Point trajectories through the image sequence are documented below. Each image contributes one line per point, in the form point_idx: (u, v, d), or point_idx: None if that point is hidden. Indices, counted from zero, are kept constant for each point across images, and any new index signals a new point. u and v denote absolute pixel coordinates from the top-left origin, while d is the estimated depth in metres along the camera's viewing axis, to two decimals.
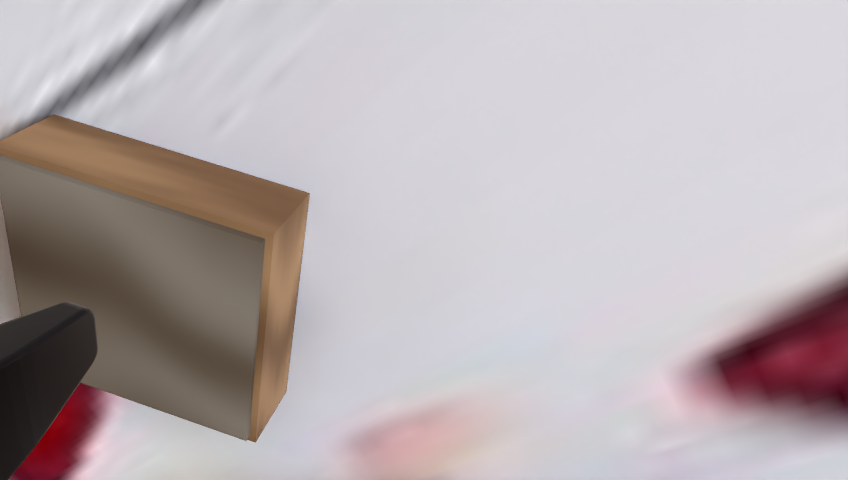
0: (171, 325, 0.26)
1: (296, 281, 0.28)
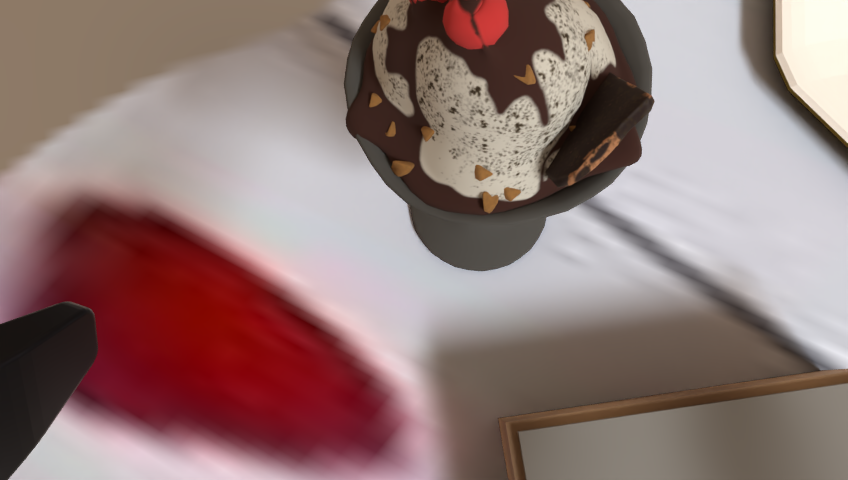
0: None
1: None
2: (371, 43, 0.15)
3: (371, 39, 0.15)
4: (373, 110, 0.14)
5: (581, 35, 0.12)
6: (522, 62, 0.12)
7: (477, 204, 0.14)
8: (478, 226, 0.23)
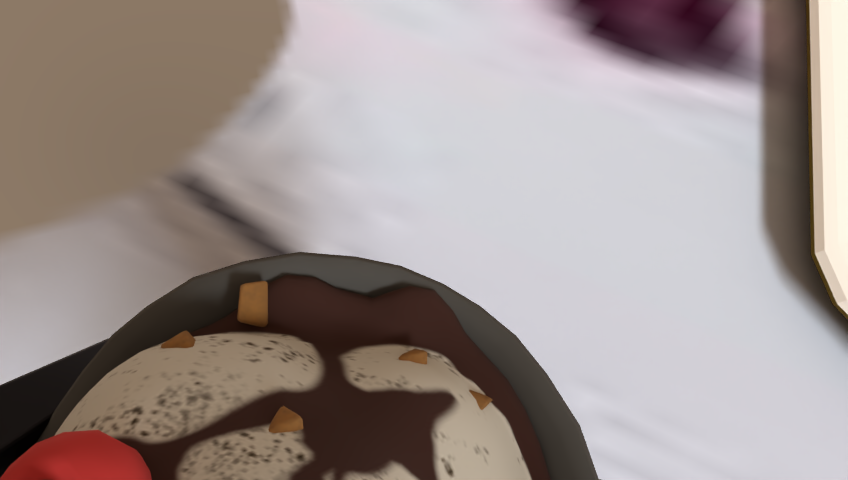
0: None
1: None
2: None
3: None
4: None
5: None
6: None
7: None
8: None
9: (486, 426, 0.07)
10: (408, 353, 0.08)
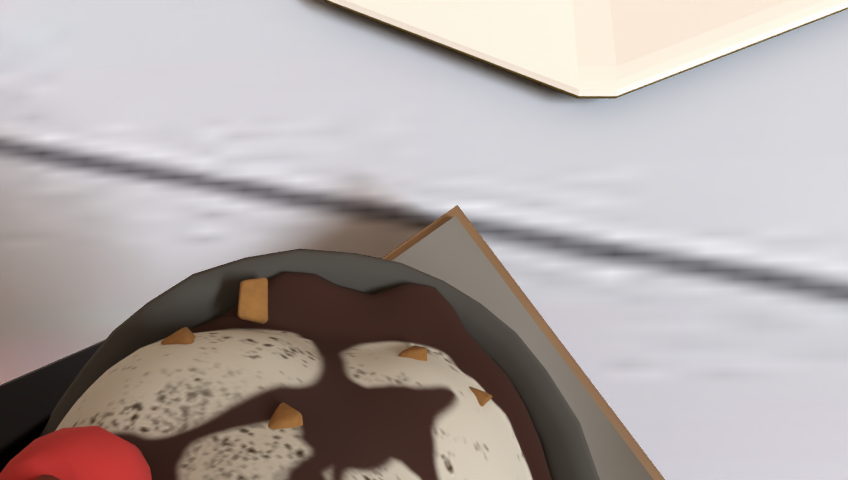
0: None
1: None
2: None
3: None
4: None
5: None
6: None
7: None
8: None
9: (486, 422, 0.07)
10: (408, 350, 0.08)
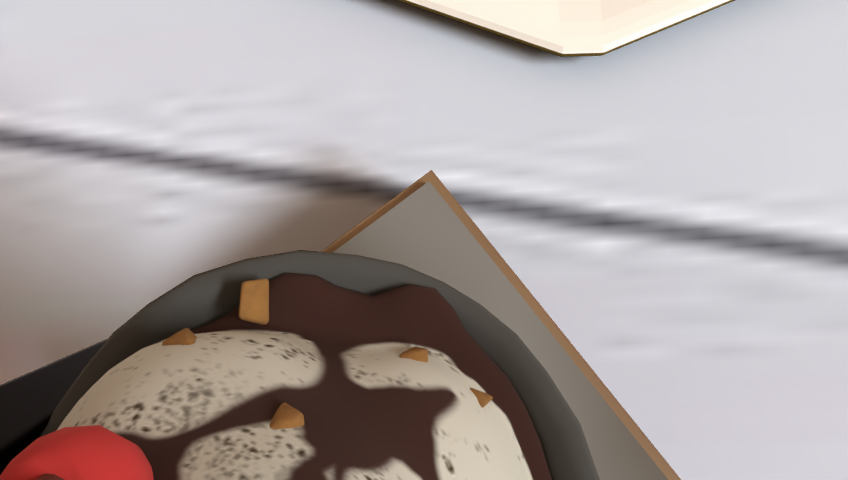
0: None
1: None
2: None
3: None
4: None
5: None
6: None
7: None
8: None
9: (487, 424, 0.07)
10: (409, 351, 0.08)
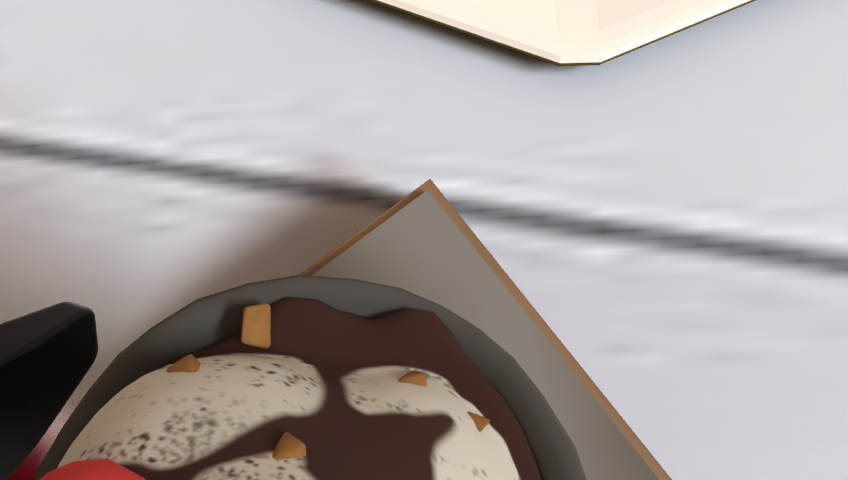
0: None
1: None
2: None
3: None
4: None
5: None
6: None
7: None
8: None
9: (484, 448, 0.07)
10: (408, 375, 0.08)
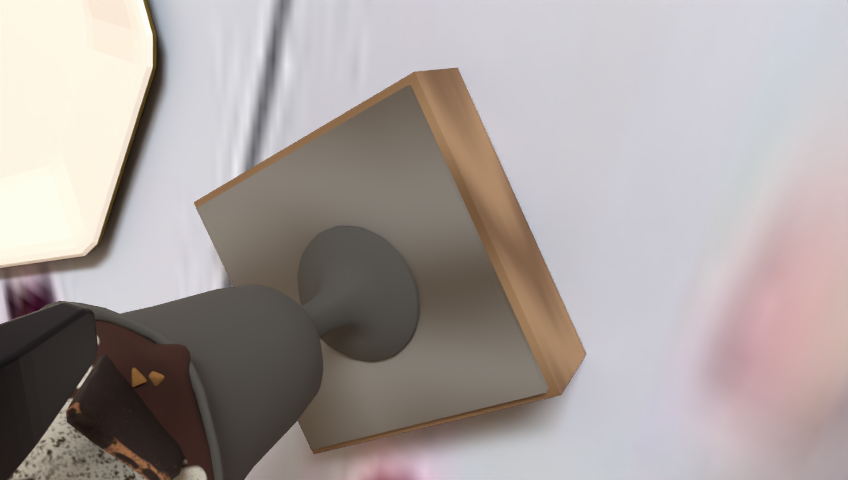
0: None
1: (502, 177, 0.23)
2: None
3: None
4: None
5: None
6: None
7: None
8: (369, 314, 0.22)
9: None
10: None
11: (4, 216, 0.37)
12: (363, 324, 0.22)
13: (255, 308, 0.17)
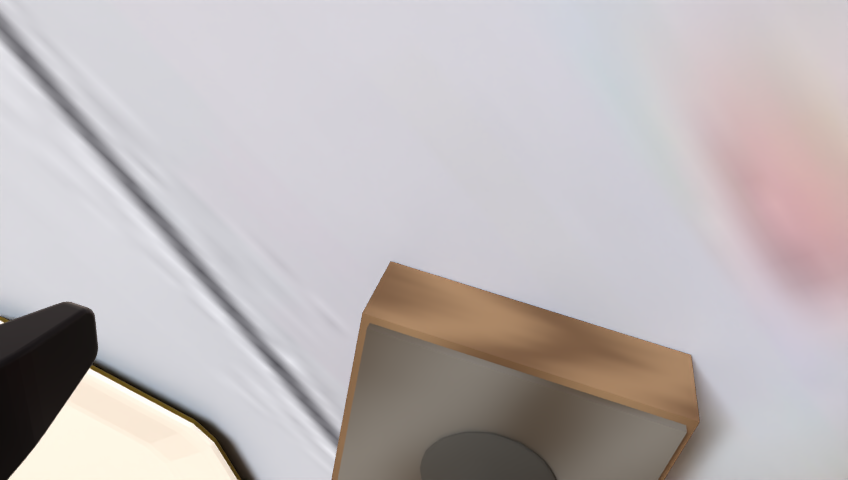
0: None
1: (497, 299, 0.24)
2: None
3: None
4: None
5: None
6: None
7: None
8: None
9: None
10: None
11: None
12: None
13: None
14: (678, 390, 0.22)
